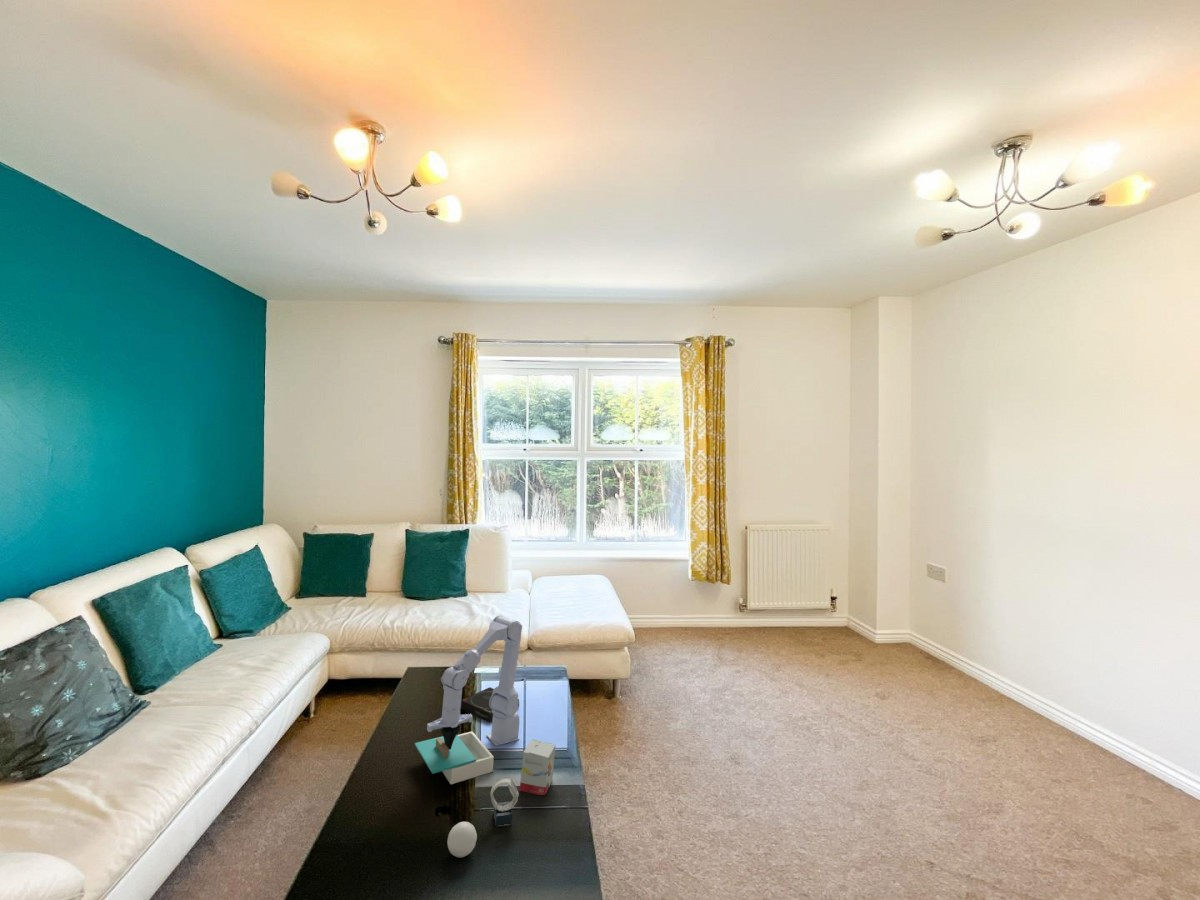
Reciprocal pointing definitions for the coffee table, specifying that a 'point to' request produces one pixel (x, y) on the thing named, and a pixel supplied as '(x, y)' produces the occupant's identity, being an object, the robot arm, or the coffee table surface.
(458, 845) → the white egg
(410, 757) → the coffee table surface
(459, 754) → the lid
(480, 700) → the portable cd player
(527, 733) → the coffee table surface
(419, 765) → the coffee table surface
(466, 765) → the mailer box
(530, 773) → the ink box
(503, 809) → the watch
